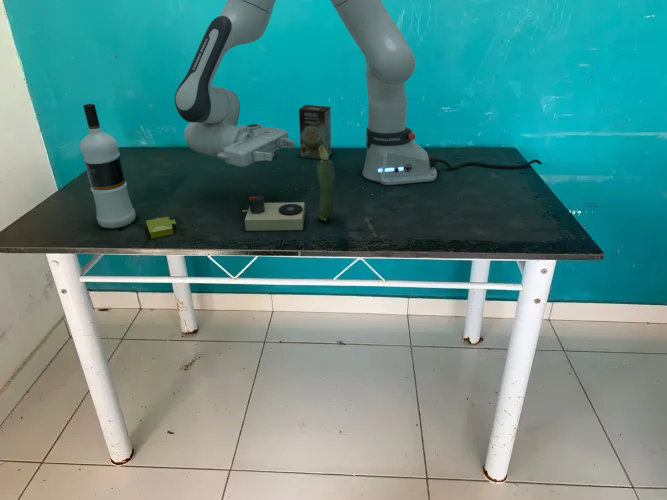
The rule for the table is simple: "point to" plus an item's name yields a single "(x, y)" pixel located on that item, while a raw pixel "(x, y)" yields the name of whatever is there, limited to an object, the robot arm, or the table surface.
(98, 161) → the vodka
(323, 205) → the vegetable
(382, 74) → the robot arm
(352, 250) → the table surface
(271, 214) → the hot plate
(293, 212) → the burner
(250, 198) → the hob knob
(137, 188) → the table surface
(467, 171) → the table surface
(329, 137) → the coffee box
